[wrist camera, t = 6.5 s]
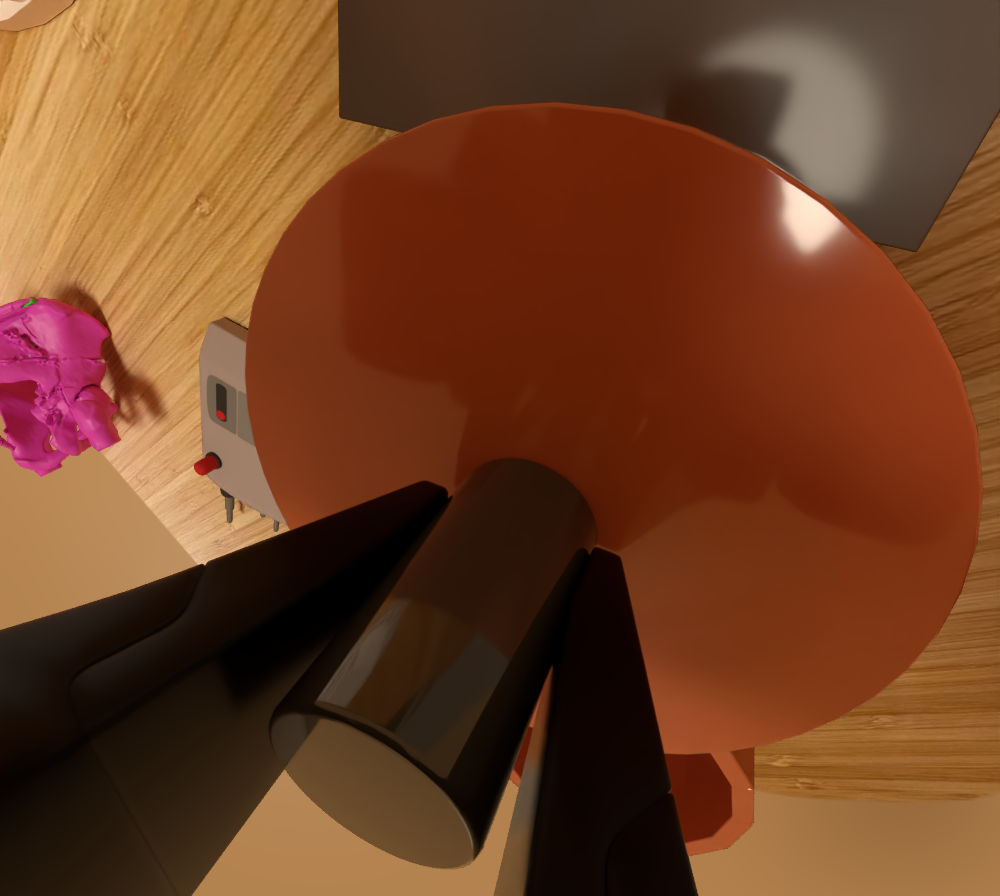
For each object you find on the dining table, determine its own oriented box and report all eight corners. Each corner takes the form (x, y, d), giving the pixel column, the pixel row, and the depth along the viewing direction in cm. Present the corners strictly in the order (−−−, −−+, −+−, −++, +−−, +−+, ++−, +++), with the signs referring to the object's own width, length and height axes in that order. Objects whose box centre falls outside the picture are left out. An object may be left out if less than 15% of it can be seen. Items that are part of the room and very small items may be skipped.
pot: (798, 595, 22) (813, 770, 16) (703, 724, 28) (688, 887, 22) (561, 502, 24) (497, 623, 18) (520, 639, 30) (462, 765, 24)
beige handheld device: (336, 343, 25) (292, 366, 22) (306, 552, 34) (273, 583, 32) (223, 282, 26) (169, 298, 23) (224, 502, 35) (185, 529, 33)
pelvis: (71, 263, 29) (-77, 292, 24) (175, 413, 32) (63, 469, 27) (-1, 330, 36) (-132, 365, 30) (92, 451, 39) (-12, 502, 34)
